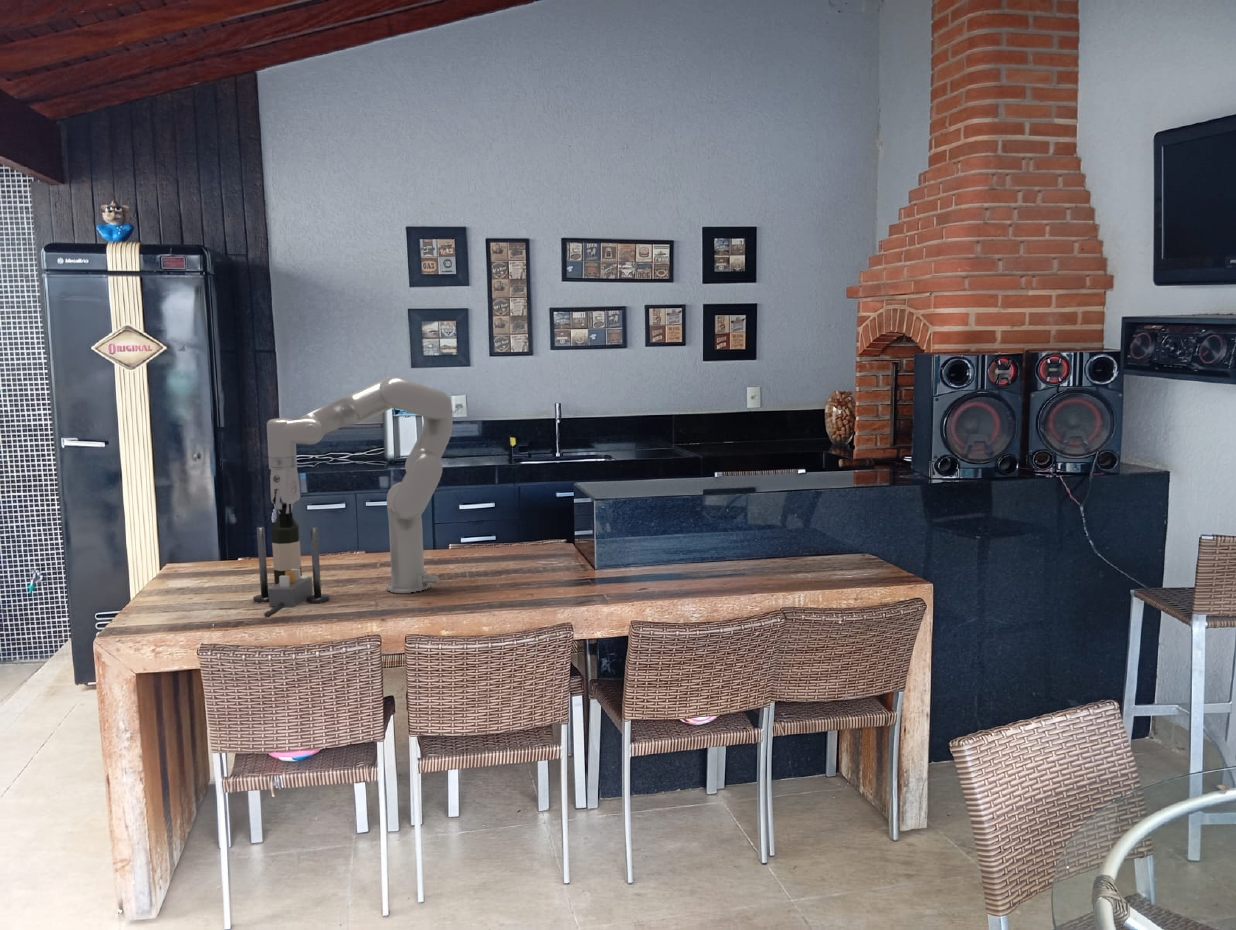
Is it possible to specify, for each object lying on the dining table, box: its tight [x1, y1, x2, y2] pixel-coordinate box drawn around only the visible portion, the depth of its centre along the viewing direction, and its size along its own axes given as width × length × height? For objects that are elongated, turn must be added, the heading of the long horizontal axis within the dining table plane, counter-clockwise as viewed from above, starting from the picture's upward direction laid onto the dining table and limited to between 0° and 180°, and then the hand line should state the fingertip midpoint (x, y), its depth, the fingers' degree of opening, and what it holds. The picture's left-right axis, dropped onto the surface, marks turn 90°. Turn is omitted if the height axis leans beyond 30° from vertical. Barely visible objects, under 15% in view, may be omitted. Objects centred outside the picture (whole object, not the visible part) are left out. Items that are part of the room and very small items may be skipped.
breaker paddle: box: [285, 571, 295, 583], centre depth 306 cm, size 2×1×3 cm, turn 84°
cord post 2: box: [305, 526, 331, 604], centre depth 305 cm, size 6×6×21 cm
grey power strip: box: [263, 569, 314, 618], centre depth 302 cm, size 7×24×8 cm, turn 174°
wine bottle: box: [271, 514, 303, 584], centre depth 328 cm, size 8×8×30 cm
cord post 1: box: [252, 526, 269, 603], centre depth 306 cm, size 6×6×21 cm
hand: (286, 527), depth 304 cm, fingers closed
